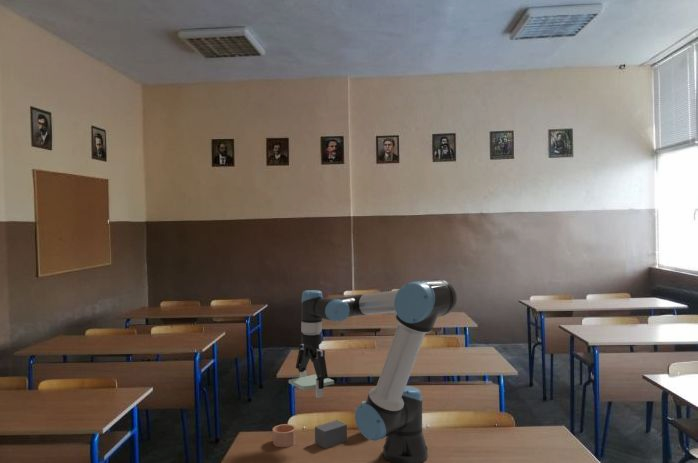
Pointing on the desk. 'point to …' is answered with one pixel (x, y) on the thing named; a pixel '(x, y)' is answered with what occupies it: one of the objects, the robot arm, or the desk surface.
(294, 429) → the pink ceramic pot
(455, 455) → the desk surface
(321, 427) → the dark grey rectangular block
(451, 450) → the desk surface
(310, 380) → the lid
